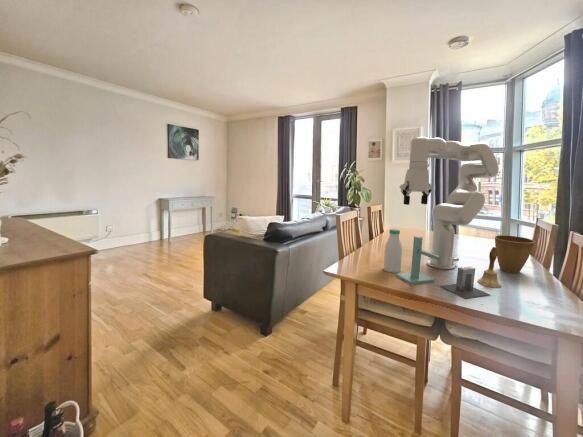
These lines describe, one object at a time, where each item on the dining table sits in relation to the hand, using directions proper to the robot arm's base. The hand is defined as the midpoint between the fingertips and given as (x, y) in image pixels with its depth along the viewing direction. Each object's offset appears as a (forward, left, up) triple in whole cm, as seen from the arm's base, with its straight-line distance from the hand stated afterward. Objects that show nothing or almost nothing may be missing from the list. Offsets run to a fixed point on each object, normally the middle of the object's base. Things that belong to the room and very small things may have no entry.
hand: (415, 204), depth 125 cm
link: (-6, +24, -32) cm, 40 cm away
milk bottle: (+7, -4, -32) cm, 33 cm away
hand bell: (-23, +21, -33) cm, 45 cm away
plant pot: (-49, +11, -32) cm, 60 cm away
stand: (+4, +11, -32) cm, 35 cm away
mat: (-6, +24, -32) cm, 41 cm away
